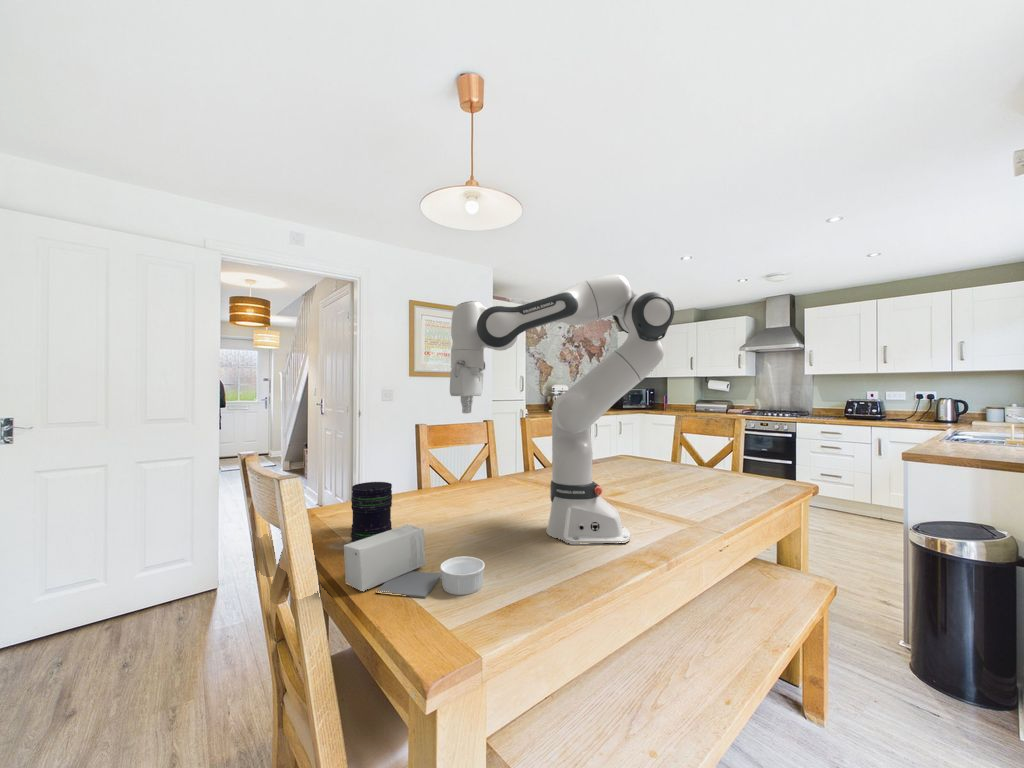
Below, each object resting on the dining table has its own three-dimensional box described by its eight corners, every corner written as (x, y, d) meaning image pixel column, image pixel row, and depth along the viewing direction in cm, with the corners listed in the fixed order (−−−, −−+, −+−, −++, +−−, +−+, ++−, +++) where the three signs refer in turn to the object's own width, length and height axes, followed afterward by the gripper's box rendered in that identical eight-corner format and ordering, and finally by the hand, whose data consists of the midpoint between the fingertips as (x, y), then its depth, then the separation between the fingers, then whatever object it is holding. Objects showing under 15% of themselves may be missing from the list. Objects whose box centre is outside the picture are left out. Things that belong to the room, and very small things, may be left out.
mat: (442, 575, 89) (442, 573, 89) (425, 598, 79) (425, 596, 79) (397, 572, 90) (397, 570, 90) (375, 593, 80) (375, 591, 80)
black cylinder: (349, 541, 109) (350, 483, 109) (388, 536, 113) (389, 480, 113) (352, 555, 100) (353, 491, 100) (394, 548, 104) (395, 488, 104)
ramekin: (489, 593, 81) (489, 571, 81) (443, 600, 78) (443, 576, 78) (479, 574, 89) (479, 554, 89) (437, 579, 87) (437, 558, 87)
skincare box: (408, 523, 96) (342, 542, 85) (425, 528, 92) (359, 549, 80) (409, 560, 96) (343, 584, 84) (426, 567, 92) (360, 593, 80)
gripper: (468, 358, 103) (467, 415, 102) (486, 364, 123) (486, 411, 123) (443, 359, 104) (443, 414, 103) (466, 364, 124) (465, 411, 124)
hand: (466, 413), depth 113 cm, fingers closed
